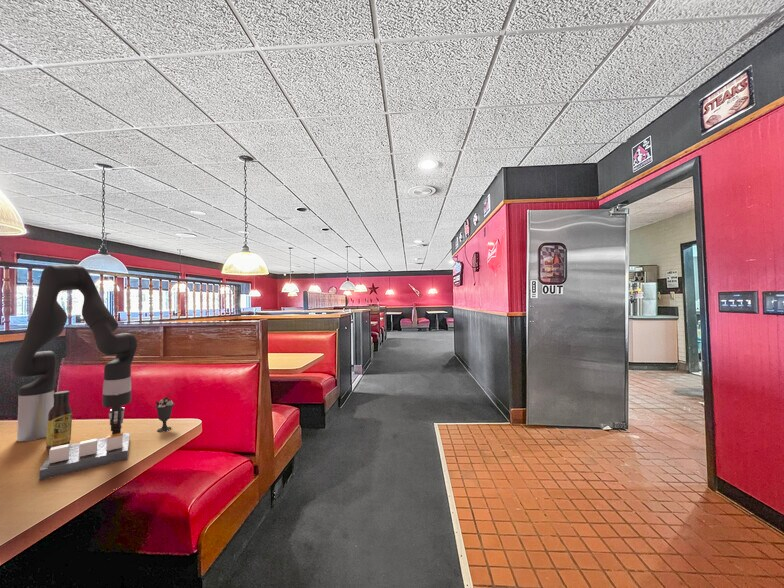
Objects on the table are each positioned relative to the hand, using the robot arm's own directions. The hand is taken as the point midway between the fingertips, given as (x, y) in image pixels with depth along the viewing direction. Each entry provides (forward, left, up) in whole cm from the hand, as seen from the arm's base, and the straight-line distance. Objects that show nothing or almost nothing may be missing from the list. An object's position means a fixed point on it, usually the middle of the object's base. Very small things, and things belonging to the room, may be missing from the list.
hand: (116, 440), depth 108 cm
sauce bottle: (-20, -17, -5) cm, 26 cm away
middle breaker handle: (+3, -7, -1) cm, 8 cm away
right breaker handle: (+3, -13, -1) cm, 14 cm away
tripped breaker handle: (+4, 0, -1) cm, 4 cm away
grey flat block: (-2, -7, -5) cm, 8 cm away
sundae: (-15, +14, -5) cm, 21 cm away
